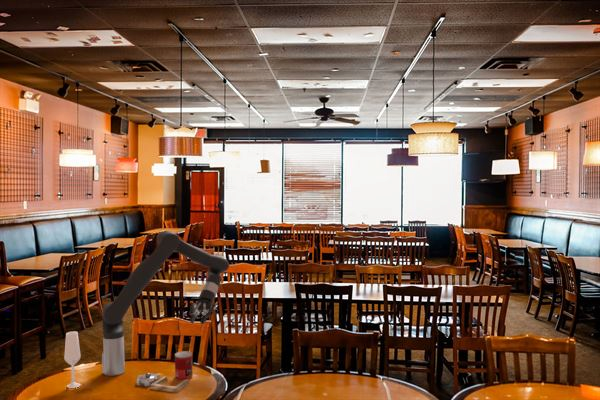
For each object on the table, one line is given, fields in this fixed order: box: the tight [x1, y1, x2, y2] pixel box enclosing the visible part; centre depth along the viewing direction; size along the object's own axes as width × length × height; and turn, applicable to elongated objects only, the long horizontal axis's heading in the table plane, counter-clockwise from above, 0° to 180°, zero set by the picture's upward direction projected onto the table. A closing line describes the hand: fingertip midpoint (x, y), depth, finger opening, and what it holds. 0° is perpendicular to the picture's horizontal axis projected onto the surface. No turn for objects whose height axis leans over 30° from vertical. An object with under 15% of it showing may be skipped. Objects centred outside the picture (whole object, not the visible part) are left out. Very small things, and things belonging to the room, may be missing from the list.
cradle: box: [149, 375, 190, 393], centre depth 238 cm, size 13×10×2 cm
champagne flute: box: [63, 330, 82, 389], centre depth 238 cm, size 7×7×24 cm
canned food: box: [174, 350, 193, 381], centre depth 248 cm, size 8×8×11 cm
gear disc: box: [136, 372, 160, 388], centre depth 243 cm, size 10×10×4 cm
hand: (196, 322), depth 259 cm, fingers open, 5 cm apart
